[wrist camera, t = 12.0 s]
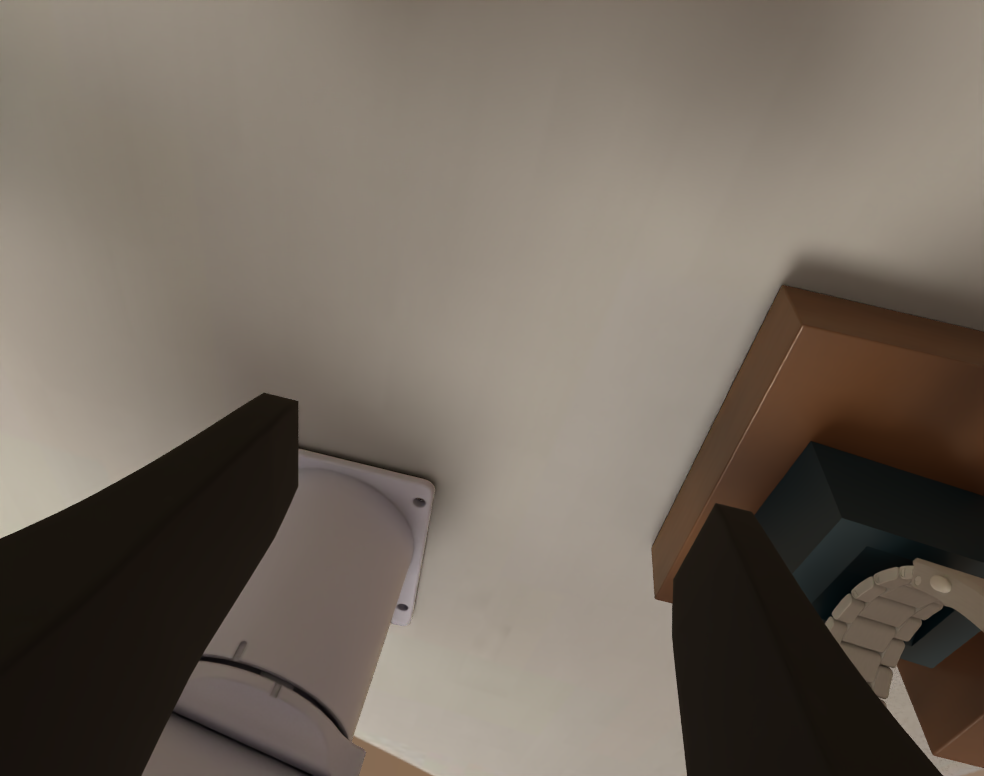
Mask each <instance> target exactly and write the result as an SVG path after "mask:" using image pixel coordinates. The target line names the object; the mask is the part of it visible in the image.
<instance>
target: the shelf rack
mask: <svg viewBox="0 0 984 776" xmlns="http://www.w3.org/2000/svg"><path fill="white" fill-rule="evenodd" d="M810 441H813V442H816V443H819V444H822V445H825V446H828V447H831V448H835V449H838V450H841V451H844V452H847V453H850V454H853V455H857V456H860V457H863V458H866V459H869V460H872V461H875V462H879V463H882V464H885V465H888V466H891V467H894V468H897V469H900V470H904V471H907V472H910V473H913V474H916V475H919V476H922V477H926V478H929V479H932V480H935V481H938V482H941V483H944V484H948V485H951V486H954V487H957V488H960V489H963V490H966V491H969V492H973V493H976V494H979V495H982V496H984V332H982V331H978V330H974V329H970V328H965V327H961V326H957V325H952V324H948V323H944V322H940V321H935V320H931V319H927V318H922V317H918V316H914V315H910V314H905V313H901V312H897V311H893V310H888V309H884V308H880V307H875V306H871V305H867V304H863V303H858V302H854V301H850V300H845V299H841V298H837V297H833V296H828V295H824V294H820V293H816V292H811V291H807V290H803V289H798V288H794V287H790V286H786V285H782V286H781V288H780V290H779V292H778V294H777V296H776V298H775V300H774V302H773V304H772V306H771V308H770V310H769V312H768V314H767V316H766V318H765V320H764V322H763V324H762V326H761V328H760V330H759V332H758V334H757V337H756V339H755V341H754V343H753V345H752V347H751V349H750V351H749V353H748V355H747V357H746V359H745V361H744V363H743V365H742V367H741V369H740V371H739V373H738V375H737V377H736V379H735V381H734V383H733V385H732V387H731V389H730V391H729V393H728V395H727V397H726V399H725V401H724V403H723V405H722V407H721V409H720V411H719V413H718V415H717V417H716V419H715V421H714V423H713V425H712V427H711V429H710V431H709V433H708V435H707V437H706V439H705V441H704V443H703V445H702V447H701V450H700V452H699V454H698V456H697V458H696V460H695V462H694V464H693V466H692V468H691V470H690V472H689V474H688V476H687V478H686V480H685V482H684V484H683V486H682V488H681V490H680V492H679V494H678V496H677V498H676V500H675V502H674V504H673V506H672V508H671V510H670V512H669V514H668V516H667V518H666V520H665V522H664V524H663V526H662V528H661V530H660V532H659V534H658V536H657V538H656V540H655V542H654V544H653V546H652V548H651V549H652V564H653V580H654V595H655V599H657V600H661V601H665V602H669V603H673V579H674V577H675V575H676V573H677V572H678V570H679V568H680V566H681V564H682V563H683V561H684V559H685V557H686V555H687V554H688V552H689V550H690V548H691V546H692V545H693V543H694V541H695V539H696V537H697V536H698V534H699V532H700V530H701V528H702V527H703V525H704V523H705V521H706V519H707V518H708V516H709V514H710V512H711V510H712V509H713V507H714V505H715V503H718V504H722V505H726V506H730V507H735V508H739V509H743V510H747V511H751V512H752V513H753V514H754V515H755V514H756V512H757V511H758V510H759V508H760V507H761V506H762V504H763V503H764V502H765V501H766V499H767V498H768V497H769V495H770V494H771V493H772V491H773V490H774V489H775V487H776V486H777V485H778V483H779V482H780V481H781V480H782V478H783V477H784V476H785V474H786V473H787V472H788V470H789V469H790V468H791V466H792V465H793V464H794V462H795V461H796V460H797V459H798V457H799V456H800V455H801V453H802V452H803V451H804V449H805V448H806V447H807V445H808V444H809V443H810ZM897 667H898V670H899V672H900V675H901V677H902V680H903V682H904V685H905V687H906V690H907V692H908V695H909V697H910V700H911V702H912V705H913V707H914V710H915V712H916V715H917V717H918V720H919V722H920V725H921V727H922V730H923V732H924V735H925V737H926V740H927V742H928V745H929V747H930V750H931V752H932V754H933V755H934V756H938V757H942V758H946V759H950V760H954V761H958V762H962V763H966V764H970V765H974V766H978V767H982V768H984V632H983V631H980V632H978V633H977V634H976V635H975V636H973V637H972V638H971V639H969V640H968V641H967V642H966V643H964V644H963V645H962V646H961V647H959V648H958V649H957V650H955V651H954V652H953V653H952V654H950V655H949V656H948V657H946V658H945V659H944V660H943V661H941V662H940V663H939V664H937V665H936V666H935V667H934V668H929V667H926V666H923V665H919V664H916V663H913V662H910V661H907V660H903V659H900V658H899V660H898V663H897Z"/></svg>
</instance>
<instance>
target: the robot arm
mask: <svg viewBox="0 0 984 776" xmlns="http://www.w3.org/2000/svg"><path fill="white" fill-rule="evenodd" d="M434 494H435V487H434V486H433V484H432V483H431V482H430V481H428V480H425V479H422V478H418V477H414V476H409V475H405V474H401V473H397V472H393V471H389V470H385V469H381V468H377V467H373V466H369V465H364V464H360V463H356V462H352V461H348V460H344V459H340V458H336V457H332V456H328V455H323V454H319V453H315V452H311V451H307V450H303V449H299V448H298V401H296V400H292V399H288V398H284V397H280V396H276V395H272V394H267V393H263V394H261V395H259V396H258V397H256V398H254V399H253V400H251V401H249V402H248V403H246V404H244V405H243V406H241V407H240V408H238V409H237V410H235V411H233V412H232V413H230V414H229V415H227V416H226V417H224V418H223V419H221V420H219V421H218V422H216V423H215V424H213V425H212V426H210V427H208V428H207V429H205V430H204V431H202V432H200V433H199V434H197V435H196V436H194V437H193V438H191V439H189V440H188V441H186V442H184V443H183V444H181V445H179V446H178V447H176V448H174V449H173V450H171V451H170V452H168V453H166V454H165V455H163V456H161V457H160V458H158V459H156V460H155V461H153V462H151V463H150V464H148V465H146V466H145V467H143V468H141V469H139V470H137V471H136V472H134V473H132V474H130V475H128V476H127V477H125V478H123V479H121V480H119V481H118V482H116V483H114V484H112V485H110V486H108V487H107V488H105V489H103V490H101V491H99V492H98V493H96V494H94V495H92V496H90V497H88V498H86V499H84V500H82V501H80V502H78V503H76V504H74V505H72V506H70V507H68V508H66V509H64V510H62V511H60V512H58V513H56V514H54V515H52V516H50V517H47V518H45V519H43V520H41V521H39V522H36V523H34V524H32V525H30V526H28V527H26V528H23V529H21V530H19V531H17V532H15V533H12V534H10V535H8V536H5V537H3V538H1V539H0V776H359V773H360V770H361V767H362V764H363V760H364V757H365V754H366V752H365V750H364V749H363V748H361V747H359V746H357V745H355V744H353V743H352V742H351V741H352V738H353V735H354V732H355V729H356V726H357V723H358V720H359V717H360V714H361V711H362V708H363V705H364V702H365V699H366V696H367V693H368V690H369V687H370V684H371V681H372V678H373V675H374V672H375V669H376V666H377V663H378V660H379V657H380V654H381V651H382V647H383V644H384V641H385V638H386V635H387V632H388V629H389V626H390V623H392V624H396V625H400V626H406V625H408V624H410V622H411V620H412V617H413V611H414V606H415V600H416V594H417V589H418V583H419V578H420V572H421V566H422V561H423V555H424V550H425V544H426V538H427V533H428V527H429V522H430V516H431V510H432V505H433V499H434ZM417 498H421V499H423V500H424V501H421V500H419V499H417ZM672 640H673V651H674V660H675V670H676V679H677V689H678V698H679V706H680V715H681V724H682V733H683V742H684V751H685V760H686V769H687V776H943V775H942V774H941V773H940V772H939V771H938V769H937V768H936V767H935V766H934V765H933V763H932V762H931V761H930V760H929V759H928V758H927V756H926V755H925V754H924V753H923V752H922V750H921V749H920V748H919V747H918V746H917V744H916V743H915V742H914V741H913V740H912V738H911V737H910V736H909V735H908V734H907V733H906V731H905V730H904V729H903V728H902V727H901V725H900V724H899V723H898V722H897V720H896V719H895V718H894V717H893V715H892V714H891V713H890V712H889V710H888V709H887V708H886V707H885V705H884V704H883V703H882V702H881V700H880V699H879V698H878V696H877V695H876V694H875V692H874V691H873V690H872V688H871V687H870V686H869V684H868V683H867V682H866V680H865V679H864V678H863V676H862V675H861V674H860V672H859V671H858V670H857V668H856V667H855V666H854V664H853V663H852V662H851V660H850V659H849V657H848V656H847V655H846V653H845V652H844V650H843V649H842V648H841V646H840V645H839V643H838V642H837V641H836V639H835V638H834V636H833V635H832V633H831V632H830V631H829V629H828V628H827V626H826V625H825V623H824V622H823V620H822V619H821V617H820V616H819V614H818V613H817V611H816V610H815V608H814V607H813V605H812V604H811V603H810V601H809V599H808V598H807V596H806V595H805V593H804V592H803V590H802V589H801V587H800V586H799V584H798V583H797V581H796V580H795V578H794V576H793V575H792V573H791V572H790V570H789V569H788V567H787V566H786V564H785V562H784V561H783V559H782V558H781V556H780V555H779V553H778V551H777V550H776V548H775V547H774V545H773V544H772V542H771V540H770V539H769V537H768V536H767V534H766V533H765V531H764V529H763V528H762V526H761V525H760V523H759V522H758V520H757V519H756V517H755V516H754V514H753V513H752V512H751V511H747V510H743V509H739V508H735V507H730V506H726V505H722V504H718V503H715V505H714V507H713V509H712V510H711V512H710V514H709V516H708V518H707V519H706V521H705V523H704V525H703V527H702V528H701V530H700V532H699V534H698V536H697V537H696V539H695V541H694V543H693V545H692V546H691V548H690V550H689V552H688V554H687V555H686V557H685V559H684V561H683V563H682V564H681V566H680V568H679V570H678V572H677V573H676V575H675V577H674V579H673V605H672Z"/></svg>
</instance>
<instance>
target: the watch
mask: <svg viewBox="0 0 984 776" xmlns="http://www.w3.org/2000/svg"><path fill="white" fill-rule="evenodd" d="M754 516H755V517H756V519H757V520H758V522H759V523H760V525H761V526H762V528H763V529H764V531H765V533H766V534H767V536H768V537H769V539H770V540H771V542H772V544H773V545H774V547H775V548H776V550H777V551H778V553H779V555H780V556H781V558H782V559H783V561H784V562H785V564H786V566H787V567H788V569H789V570H790V572H791V573H792V575H793V576H794V578H795V580H796V581H797V583H798V584H799V586H800V587H801V589H802V590H803V592H804V593H805V595H806V596H807V598H808V599H809V601H810V603H811V604H812V605H813V607H814V608H815V610H816V611H817V613H818V614H819V616H820V617H821V619H822V620H823V622H824V623H825V625H826V626H827V628H828V629H829V631H830V632H831V633H832V635H833V636H834V638H835V639H836V641H837V642H838V643H839V645H840V646H841V648H842V649H843V650H844V652H845V653H846V655H847V656H848V657H849V659H850V660H851V662H852V663H853V664H854V666H855V667H856V668H857V670H858V671H859V672H860V674H861V675H862V676H863V678H864V679H865V680H866V681H867V683H868V684H869V686H870V687H871V688H872V690H873V691H874V692H875V694H876V695H877V696H878V697H879V698H883V699H886V698H887V697H888V695H889V689H890V684H891V680H892V676H893V672H892V670H891V669H890V668H889V667H891V668H895V667H896V665H897V663H898V660H899V658H900V659H903V660H907V661H910V662H913V663H916V664H919V665H923V666H926V667H929V668H934V667H935V666H936V665H937V664H939V663H940V662H941V661H943V660H944V659H945V658H946V657H948V656H949V655H950V654H952V653H953V652H954V651H955V650H957V649H958V648H959V647H961V646H962V645H963V644H964V643H966V642H967V641H968V640H969V639H971V638H972V637H973V636H975V635H976V634H977V633H978V632H980V631H983V632H984V496H982V495H979V494H976V493H973V492H969V491H966V490H963V489H960V488H957V487H954V486H951V485H948V484H944V483H941V482H938V481H935V480H932V479H929V478H926V477H922V476H919V475H916V474H913V473H910V472H907V471H904V470H900V469H897V468H894V467H891V466H888V465H885V464H882V463H879V462H875V461H872V460H869V459H866V458H863V457H860V456H857V455H853V454H850V453H847V452H844V451H841V450H838V449H835V448H831V447H828V446H825V445H822V444H819V443H816V442H813V441H810V443H809V444H808V445H807V447H806V448H805V449H804V451H803V452H802V453H801V455H800V456H799V457H798V459H797V460H796V461H795V462H794V464H793V465H792V466H791V468H790V469H789V470H788V472H787V473H786V474H785V476H784V477H783V478H782V480H781V481H780V482H779V483H778V485H777V486H776V487H775V489H774V490H773V491H772V493H771V494H770V495H769V497H768V498H767V499H766V501H765V502H764V503H763V504H762V506H761V507H760V508H759V510H758V511H757V512H756V514H755V515H754ZM881 664H882V665H881ZM880 700H881V699H880ZM881 702H882V703H883V704H884V705H885V707H886V703H885V702H884V701H883V700H881Z"/></svg>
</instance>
